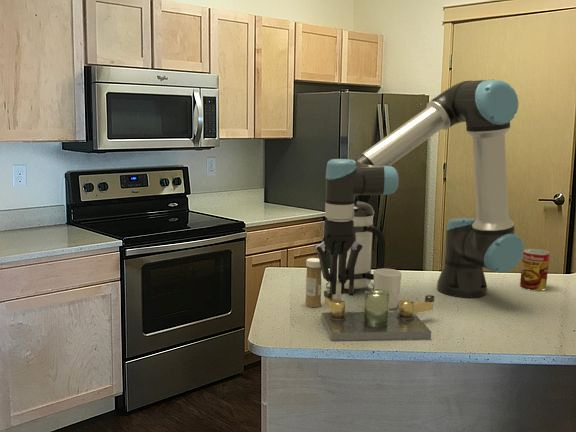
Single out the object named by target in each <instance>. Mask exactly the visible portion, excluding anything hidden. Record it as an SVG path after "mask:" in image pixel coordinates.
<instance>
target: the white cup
mask: <svg viewBox="0 0 576 432" xmlns="http://www.w3.org/2000/svg"><path fill="white" fill-rule="evenodd" d="M373 274H374V280H373V286H374V289H380V290H384V291H387V292H388V293H389V303H388V310H393V309H396V308H399V298H400V292H401V282H402V281H401V280H402V271H400V270H397V269H393V268H384V269H374V270H373Z"/></svg>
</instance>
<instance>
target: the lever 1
mask: <svg viewBox="0 0 576 432" xmlns="http://www.w3.org/2000/svg"><path fill="white" fill-rule="evenodd" d="M323 297H324V305H325V306H326V307H327V308H328V309H329V310H330V311H331V312H330V313H331V318H333V319H344V318H345V312H346V301H344V300H335V299H333V295H332V294H331V293H330V290H324V291H323Z"/></svg>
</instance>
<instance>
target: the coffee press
mask: <svg viewBox="0 0 576 432" xmlns="http://www.w3.org/2000/svg"><path fill="white" fill-rule="evenodd" d="M358 199H359V196H355V201H354V218H353V219H352V220H353V221H354V227H353V237H354V239H355V242H357V243H359V244H360V245H362V249H361V250H360V252H359V253H358V257H357V261H356V264H355V268H354V272H353V275H352V279H351V280H347V281H346V283H345V285H344V289H345V290H347V289H348V296H354V293H355V292H354V290H360V289H362V288H363V289H365V288H367V289H368V290H372V289H374V283H373V282H372V281H374V273H372V260H373V239H374V235H375V236H376V238H377V241H378V251H377V252H378V254H377V269H385V256H386V239H385V235H384V233H383V232H382V231H381V229H379V228H378V227H376V226H374V216H375V210H374V208H373V206H372V205H371V204H369V203H367V202H364V201H359V200H358ZM357 200H358V201H357ZM351 247H352V246H351ZM351 247H350V249H349V250H348V252H347V258H346V267H347V263H348V260H349V256H350V253H351V250H352V248H351ZM338 264H339V255H338V258H337V281H339V280H338ZM328 284H330V282H329V281H327V282H326V284H325V285H326V289H328V290H330V286H328ZM369 284H371V285H372V288H370V286H369Z"/></svg>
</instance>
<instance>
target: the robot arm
mask: <svg viewBox="0 0 576 432" xmlns="http://www.w3.org/2000/svg"><path fill="white" fill-rule="evenodd" d="M518 109H519V97H518V94H517V92H516V90H515V89H514V87H512V86H511V84H510V83H508V82H507V81H503V80H501V79H500V80H499V79H493V78H492V79H480V80H479V79H478V80H463V81H461V82H458V83H456V84H454V85H452V86H450V87H449V88H447V89H446V90H444V91H442V92H441V93H440V94H438V95H437V96H435V97H434V98H432V99H431V100H430V101H429V102H427V104H426V107H425V108H424V109H423V110H422V111H420V112H419V113H417V114H416V115H414V116H413V117H411V118H410V119H409V120H407V121H406V122H405V123H403V124H402V125H400V126H399V127H398V128H396V129H394V130H393V131H392V132H391V133H389V134H388V135H386V136H385V137H383V138H382V139H380V140H379V141H378V142H377V143H375V144H374V145H372V146H371V147H370V148H368V149H367V150H365V151H363V152H362V153H360V154H359V155H358V156H356V157H354V158H353V159H349V158H332V159H329V160H328V161H327V164H326V170H325V203H324V204H325V205H324V206H325V207H324V217H325V218H326V219H325V220H324V236H323V238H322V241H321V243H318V244H315V245H314V250H315V252H316V253H317V256H318V258H319V260H320V265H321V269H322V270H321V275H322V276H323V277H322V278H323V279H324V280H325V281H326V282H329V287H330V289H329V291H330V293H331V294H332V295H333V299H335V300H341V299H342V295H343V294H344V293H345V288H344V285H345V283H346V281H347V280H351V279H352V275H353V272H354V268H355V264H356V261H357V257H358V253H359V252H360V250H361V249H362V245H360V244H359V243H357V242H355V239H354V237H353V227H354V221H353V220H352V219H353V218H354V201H355V196H358V197H359V196H384V195H392V194H394V193H396V191H397V190H398V188H399V180H400V177H399V175H398V170H397V169H396V168H395V167H394V166H391V165H393V164H394V163H396V162H397V161H398V160H399V161H400V159H402V158H403V157H404V156H405V155H407V154H409V153H410V152H412V151H413V150H414V149H416V148H417V147H418V146H420V145H421V144H423V143H424V142H425V141H427V140H428V139H430V138H431V137H433V136H434V135H435V134H436V133H438V132H440V131H441V130H444V131H445V130H448V129H451V127H453V126H455V125H457V124H460V123H465V128H466V133H467V134H469V135H470V136H471V137H472V153H473V169H474V189H475V191H474V192H475V204H476V206H475V207H476V209H475V210H476V217H474V218H473V217H469V218H467V217H464V218H460V217H459V218H458V217H457V218H452V219H449V220H447V221H448V222H447V226H446V230H445V232H446V234H445V235H446V236H445V249H444V250H445V251H444V264H443V268H442V269H441V273H440V274H439V276H438V279H437V283H436V289H437V291H439V292H440V293H441V294H442V293H443V294H444V295H449V296H452V297H458V298H459V297H460V298H480V297H484V296H486V295H487V294H488V293H487V292H488V284H487V281H486V275H485V273H484V269H487V270H488V271H491V272H497V273H507V272H509V271H511V270H513V269H515V268H516V267H517V265H518V264H519V263H520V262H521V260H522V258H523V252H524V249H525V245H524V241H523V240H522V239H521V238H520V236H519V235H517V234H515V229H516V228H515V222H514V221H513V220H512V219H510V217H509V203H508V202H509V201H508V199H509V198H508V183H507V182H508V179H507V159H506V158H507V157H506V156H507V155H506V138H505V137H506V133H508V131H509V130H510V129H511V121H512V120H513V119H514V118H515V117H516V115H515V114H517V112H518ZM351 246H352V247H351ZM350 247H351V248H352V250H351V253H350V256H349V260H348V263H347V267H346V258H347V252H348V250H349V249H350ZM326 249H327V251H328V252H329V265H328V262H327V261H328V260H327V257H326V253H325V251H326ZM338 255H339V264H338V280H339V281H337V258H338ZM328 266H329V267H328ZM341 301H342V300H341Z"/></svg>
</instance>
